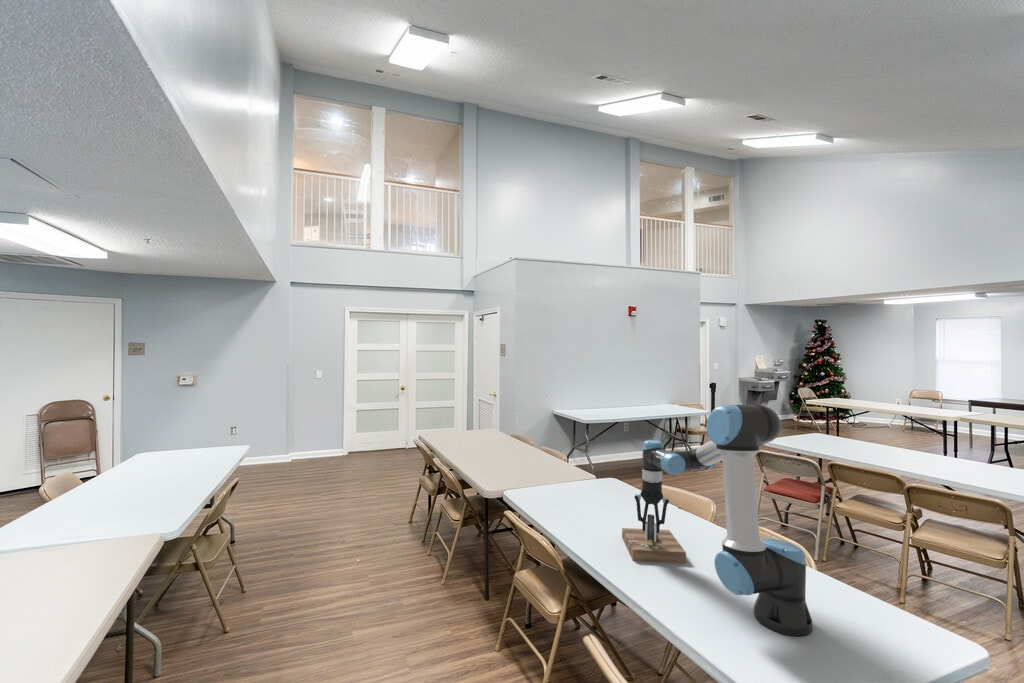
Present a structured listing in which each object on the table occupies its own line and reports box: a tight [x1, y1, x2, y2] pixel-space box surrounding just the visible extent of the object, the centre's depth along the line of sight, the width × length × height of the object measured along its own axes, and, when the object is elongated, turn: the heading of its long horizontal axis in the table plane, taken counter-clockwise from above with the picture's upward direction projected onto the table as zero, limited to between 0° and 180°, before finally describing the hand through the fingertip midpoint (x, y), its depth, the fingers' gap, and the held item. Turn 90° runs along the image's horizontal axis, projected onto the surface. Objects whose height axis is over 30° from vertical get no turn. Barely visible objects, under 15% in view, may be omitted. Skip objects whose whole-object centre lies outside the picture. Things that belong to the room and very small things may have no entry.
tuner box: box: [621, 527, 687, 564], centre depth 185 cm, size 22×20×4 cm
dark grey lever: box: [646, 513, 658, 544], centre depth 182 cm, size 5×12×11 cm, turn 158°
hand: (650, 539), depth 180 cm, fingers closed on dark grey lever, 3 cm apart
